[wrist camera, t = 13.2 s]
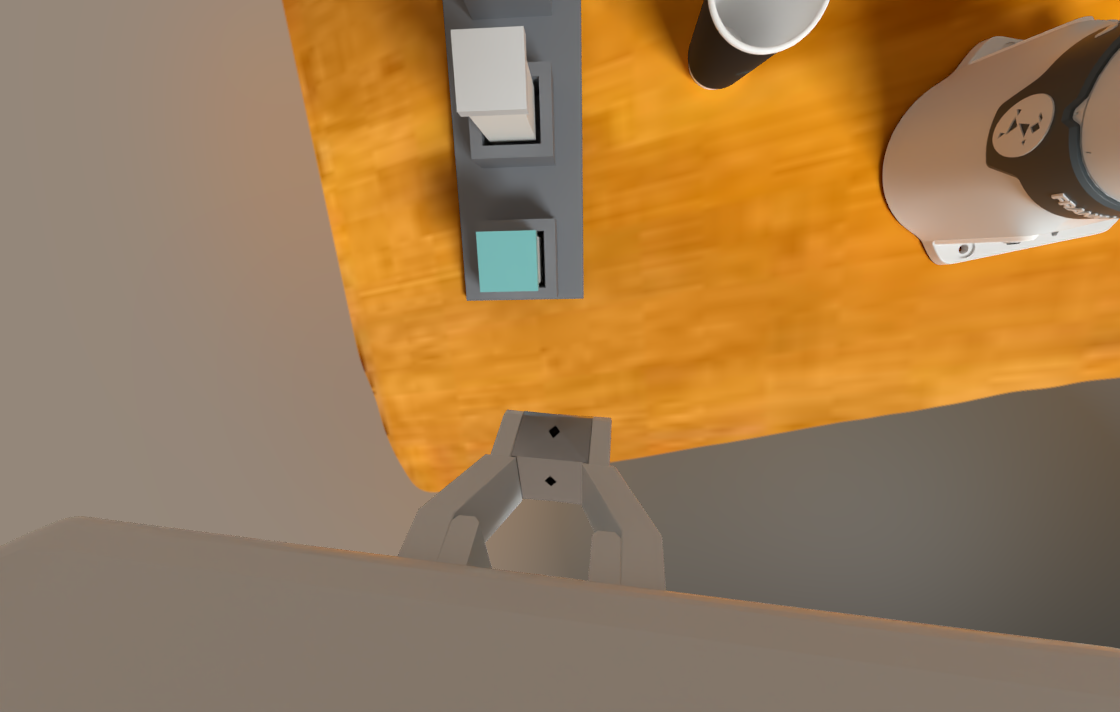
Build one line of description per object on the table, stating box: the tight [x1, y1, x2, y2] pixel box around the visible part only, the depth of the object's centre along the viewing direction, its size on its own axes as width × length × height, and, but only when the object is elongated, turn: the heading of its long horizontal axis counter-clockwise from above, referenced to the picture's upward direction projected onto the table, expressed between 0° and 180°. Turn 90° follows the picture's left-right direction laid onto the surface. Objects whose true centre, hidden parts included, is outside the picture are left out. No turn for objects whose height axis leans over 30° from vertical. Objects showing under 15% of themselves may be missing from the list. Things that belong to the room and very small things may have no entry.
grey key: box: [451, 26, 536, 142], centre depth 30 cm, size 5×5×9 cm
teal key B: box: [476, 230, 543, 292], centre depth 36 cm, size 5×5×9 cm
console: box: [443, 0, 583, 301], centre depth 36 cm, size 12×32×5 cm, turn 1°
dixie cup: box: [688, 0, 830, 90], centre depth 31 cm, size 8×8×11 cm
